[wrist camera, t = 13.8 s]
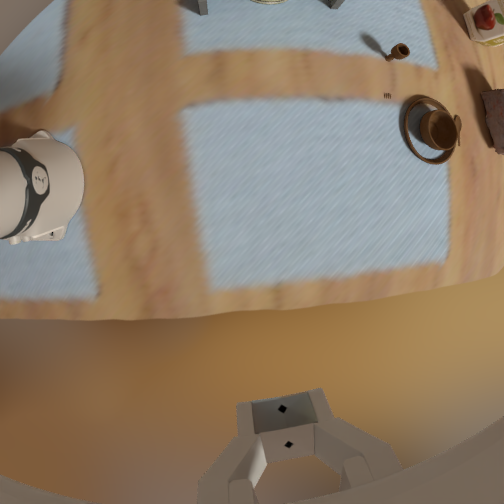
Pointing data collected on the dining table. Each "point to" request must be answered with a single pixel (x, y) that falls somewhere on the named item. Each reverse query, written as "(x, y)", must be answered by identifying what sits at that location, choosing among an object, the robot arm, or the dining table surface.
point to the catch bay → (335, 3)
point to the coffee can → (269, 1)
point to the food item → (495, 116)
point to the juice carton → (486, 23)
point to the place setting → (431, 120)
